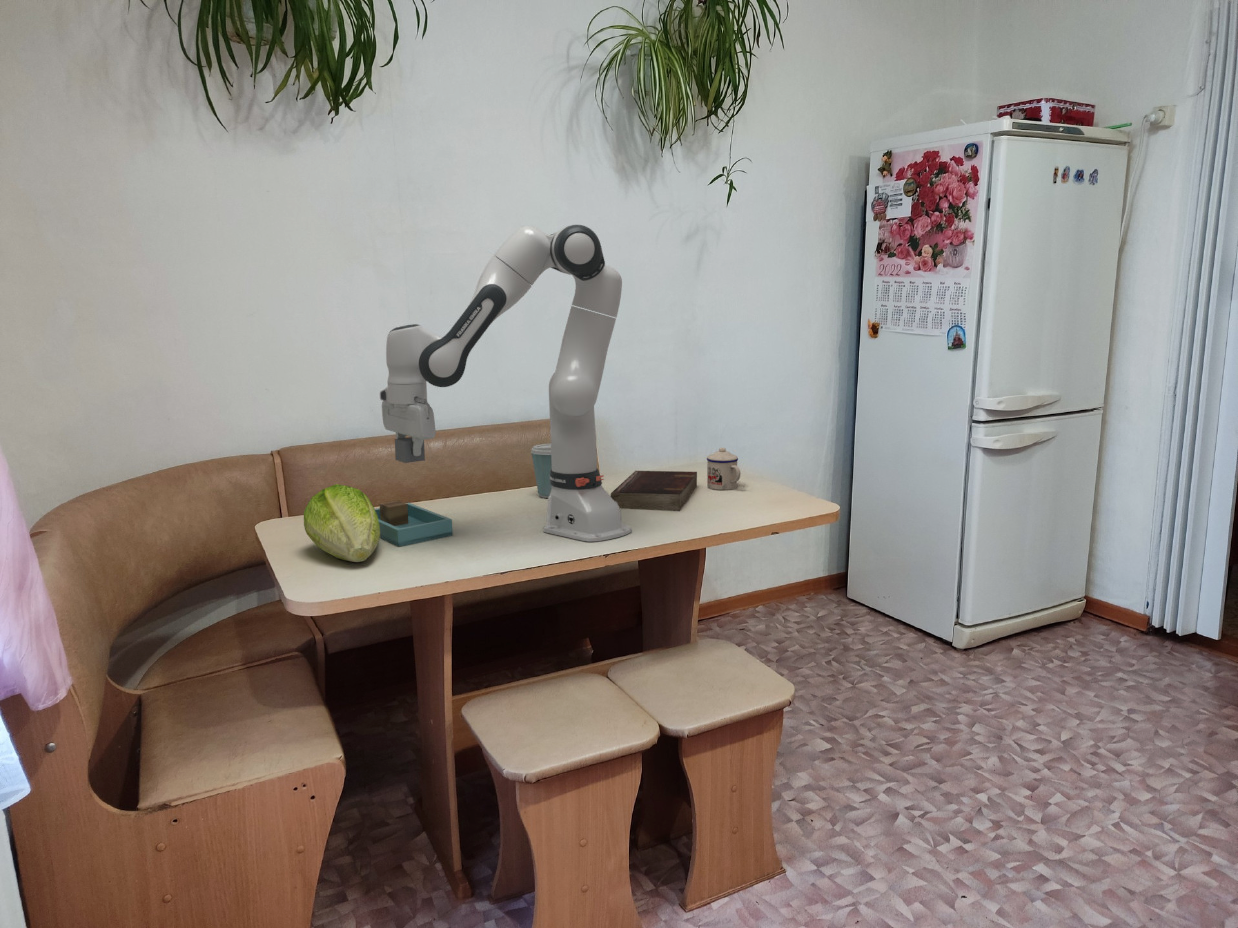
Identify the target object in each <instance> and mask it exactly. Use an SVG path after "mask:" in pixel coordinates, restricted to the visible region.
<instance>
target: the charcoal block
mask: <svg viewBox="0 0 1238 928" xmlns="http://www.w3.org/2000/svg"><path fill="white" fill-rule="evenodd" d="M413 443H414V442H413V441H412V437H410V436H407V437H406V438H399V439H396V438H394V453H395V454H394V455H395V456H394V457H395V461H398V462H402V463H405V464H407V463H408V464H409V463H415V462H422V461H423V462H425V461H426V458H425V457H426V456H425V455H426V454H425V451H426V450H425V440H423V444H422V447H421V455H420V456H414V455H412V454H411V452H412V451H411V448H413Z"/></svg>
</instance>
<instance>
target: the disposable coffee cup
mask: <svg viewBox="0 0 1238 928" xmlns="http://www.w3.org/2000/svg"><path fill="white" fill-rule="evenodd" d="M530 453H531V458H532V464H533V470H534V476H535V481H536V488H537V493H538V495H539V497H540V498H543V499H548V497H549V495H550V492H551V489H552V485H551V484H550V470H551V469H552V461H551V442H550V443H543V444H536V445H533V446H532V448H531V450H530Z"/></svg>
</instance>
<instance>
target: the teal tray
mask: <svg viewBox="0 0 1238 928" xmlns="http://www.w3.org/2000/svg"><path fill="white" fill-rule="evenodd" d="M405 503H406V502H405ZM406 504H407V508H408V524H403V525H398V526H393V525H391V524H388V523H386V522H384V521H382V520H381V519H380V507H379V508H374V509H375V511H376V514H377V516H378V521H379V525H380V539H381V540H384V541H385V542H387V543H388V544H389V543H390V544H391V545H394V546H395V547H398V548H401V547H405V546H410V545H413V544H419V543H423V542H427V541H434V540H438V539H442V538H447V537H451V536H454V535H453V533H454V532H453V519H452V518H450V517H447V516H445V515H442V514H440V513H437V512H434V511H432V510H429V509H427V508H423V507H421V506H418V505H416V504H414V503H411V502H408V503H406Z"/></svg>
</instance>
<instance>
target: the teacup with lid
mask: <svg viewBox="0 0 1238 928" xmlns="http://www.w3.org/2000/svg"><path fill="white" fill-rule="evenodd" d="M706 460H707V462H706V463H707V468H706V469H707V470H706V471H707V473H706V474H707V476H706V477H707V479H706V484H707V485H706V487H707V488H708V489H710V490H715V491H731V490H735V489H736V488H737V487H738V482H739V480H740V478H741V469H740V468H739V466H738V460H739V458H738V456H737V455H736V454H733V453H731V452H730V451H727V449H726V448H725V447H719V449H718V450H717V451H715V452H714V453H711V454H709V455H707V457H706Z"/></svg>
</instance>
